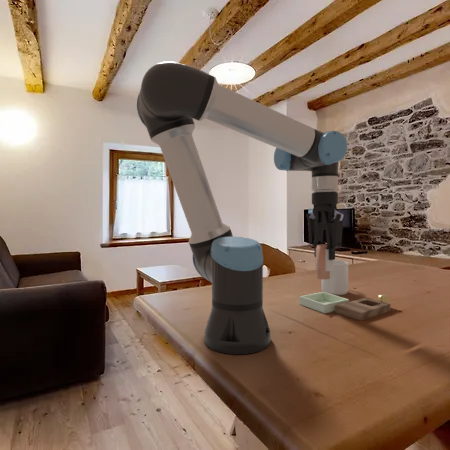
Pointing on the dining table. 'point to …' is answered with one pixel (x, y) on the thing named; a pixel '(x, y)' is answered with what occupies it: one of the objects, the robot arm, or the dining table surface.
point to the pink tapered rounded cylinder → (321, 262)
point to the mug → (336, 279)
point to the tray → (321, 301)
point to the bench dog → (383, 298)
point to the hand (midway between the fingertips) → (324, 269)
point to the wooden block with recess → (362, 308)
